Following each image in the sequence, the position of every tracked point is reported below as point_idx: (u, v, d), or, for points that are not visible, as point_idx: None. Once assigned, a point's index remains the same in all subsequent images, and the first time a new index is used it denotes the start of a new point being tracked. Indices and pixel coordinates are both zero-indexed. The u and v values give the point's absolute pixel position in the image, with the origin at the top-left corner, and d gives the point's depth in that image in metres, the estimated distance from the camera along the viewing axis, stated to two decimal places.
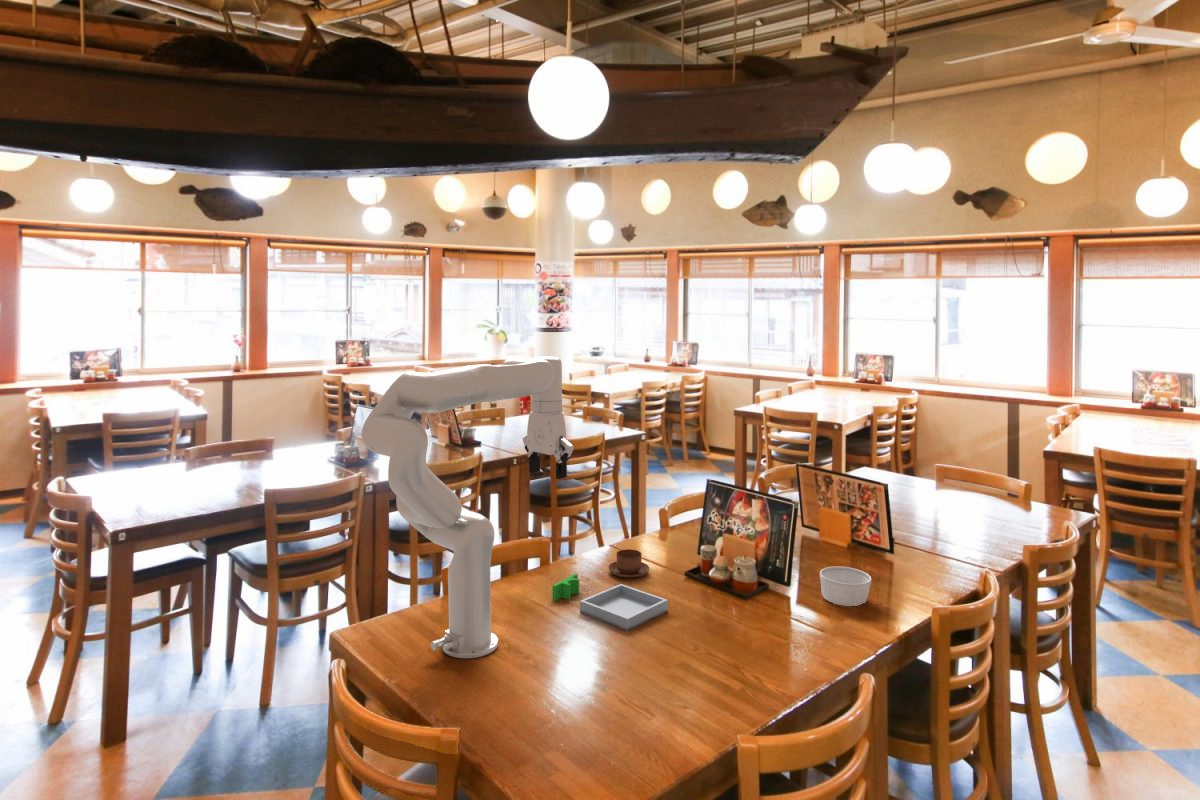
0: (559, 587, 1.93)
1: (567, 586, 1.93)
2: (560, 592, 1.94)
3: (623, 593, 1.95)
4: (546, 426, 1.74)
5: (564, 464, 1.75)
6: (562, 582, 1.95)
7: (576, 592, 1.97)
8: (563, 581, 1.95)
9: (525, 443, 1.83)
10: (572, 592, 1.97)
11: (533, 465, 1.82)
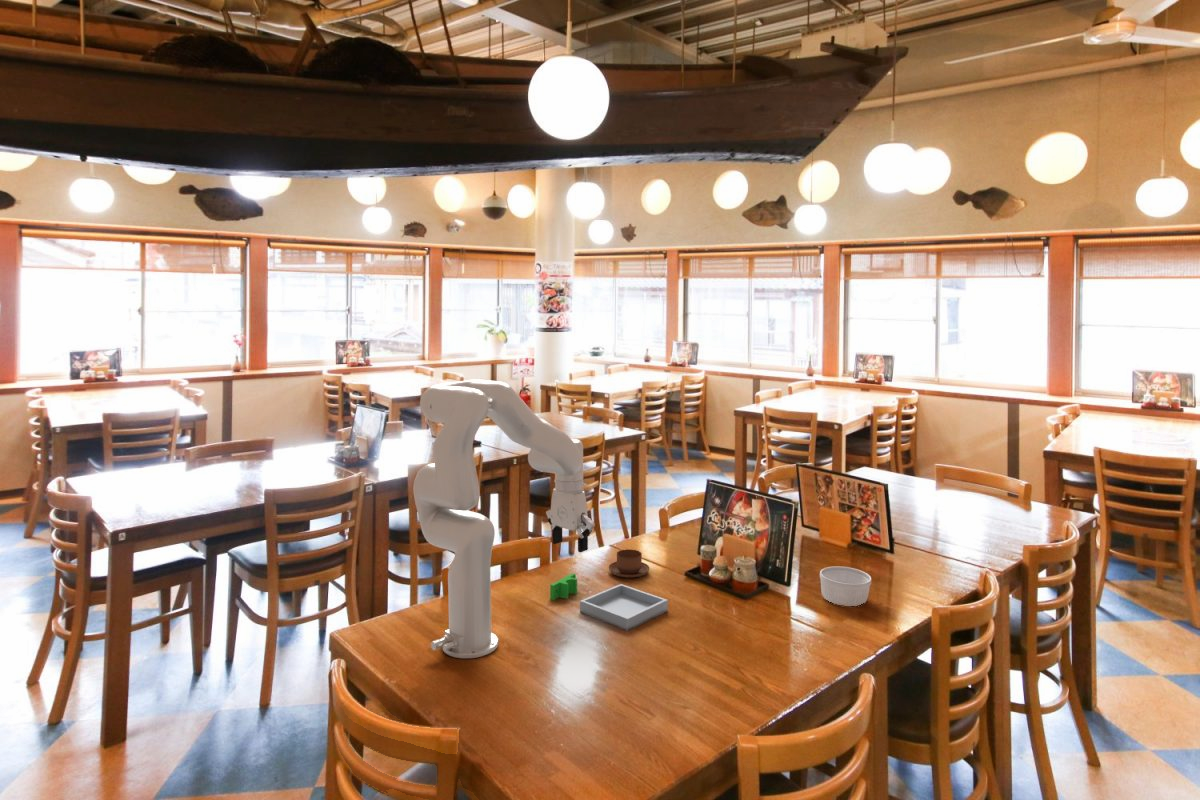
0: (556, 586, 1.94)
1: (565, 585, 1.94)
2: (558, 591, 1.94)
3: (623, 593, 1.95)
4: (569, 504, 1.89)
5: (585, 538, 1.91)
6: (560, 581, 1.95)
7: (574, 592, 1.97)
8: (561, 581, 1.96)
9: (548, 516, 1.99)
10: (570, 592, 1.97)
11: (556, 537, 1.97)
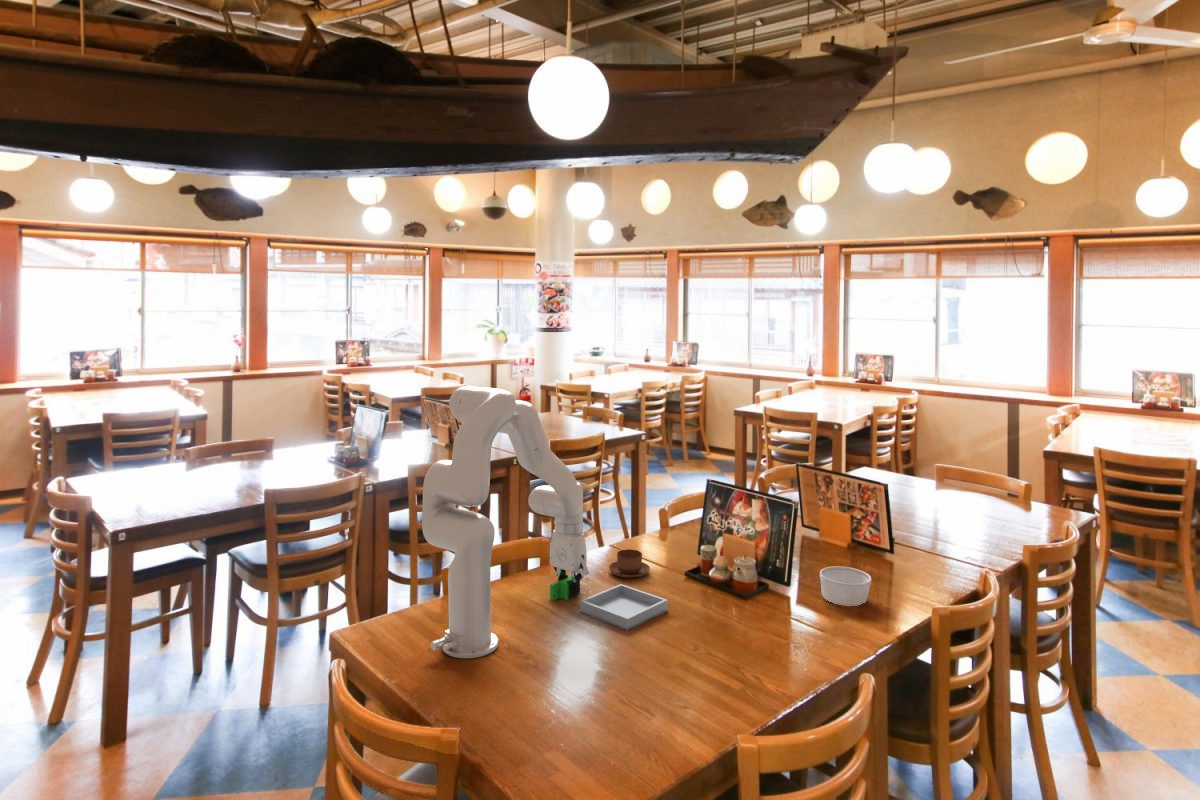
0: (556, 586, 1.93)
1: (565, 586, 1.93)
2: (558, 592, 1.94)
3: (623, 593, 1.95)
4: (568, 546, 1.91)
5: (578, 582, 1.94)
6: (560, 582, 1.95)
7: None
8: (562, 581, 1.95)
9: None
10: None
11: None
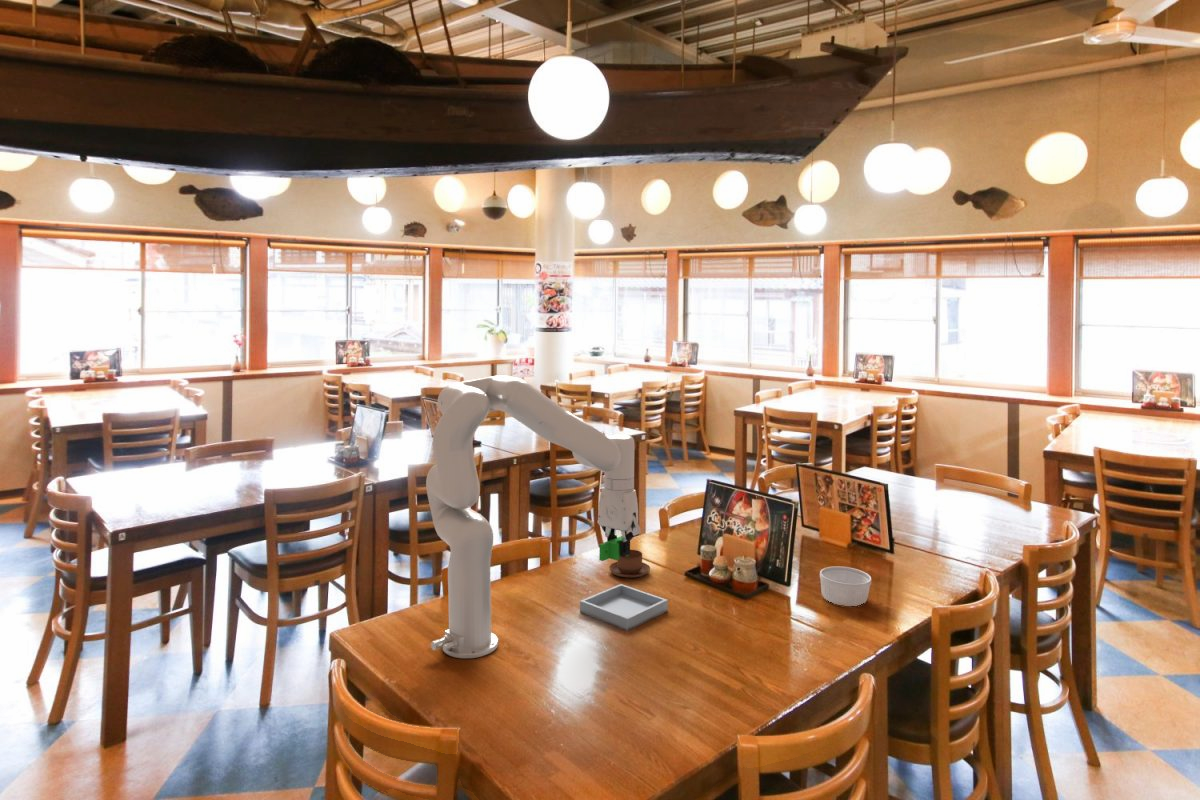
0: (606, 546, 1.82)
1: (615, 546, 1.82)
2: (608, 552, 1.83)
3: (623, 593, 1.95)
4: (620, 503, 1.79)
5: (628, 542, 1.82)
6: (610, 542, 1.83)
7: None
8: (611, 541, 1.84)
9: (601, 524, 1.87)
10: None
11: None
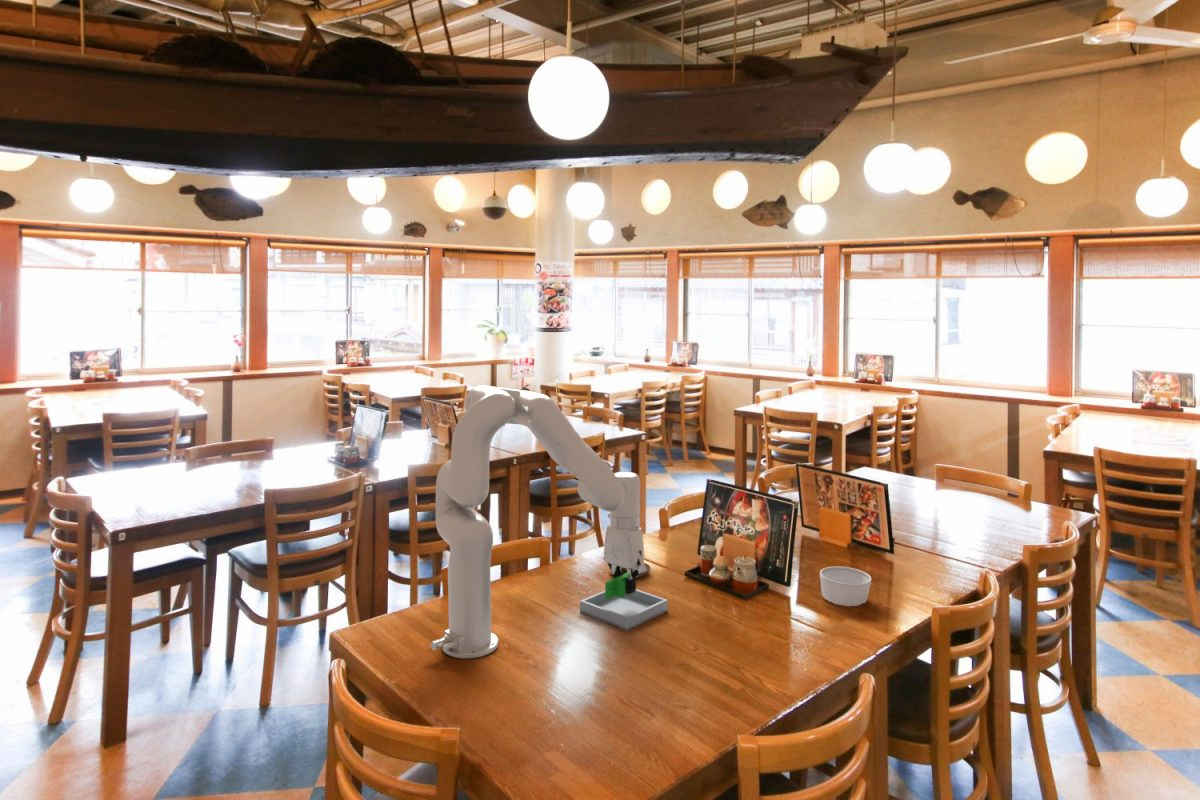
0: (612, 584, 1.82)
1: (621, 583, 1.82)
2: (614, 589, 1.83)
3: None
4: (625, 541, 1.79)
5: (634, 580, 1.82)
6: (616, 579, 1.83)
7: None
8: (617, 578, 1.84)
9: None
10: None
11: None
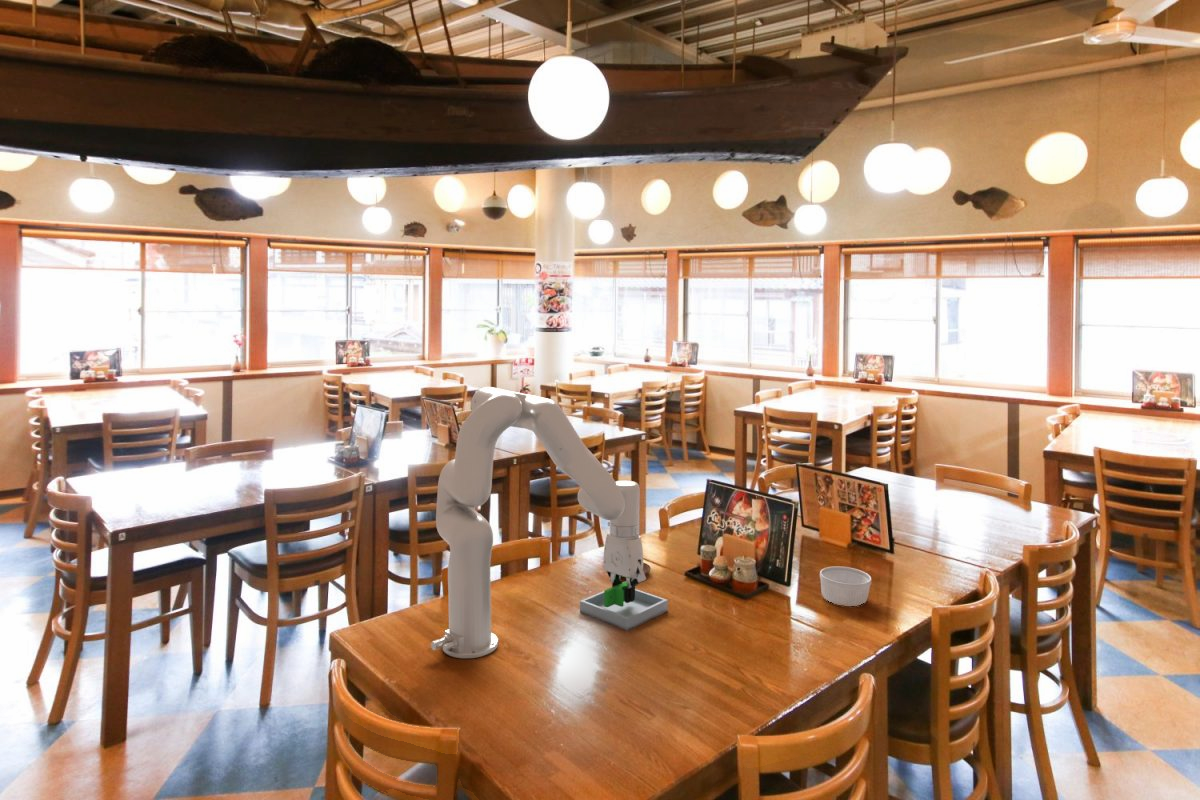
0: (611, 592, 1.82)
1: (620, 592, 1.82)
2: (613, 598, 1.83)
3: None
4: (625, 550, 1.80)
5: (633, 588, 1.83)
6: (615, 588, 1.83)
7: None
8: (616, 587, 1.84)
9: None
10: None
11: None
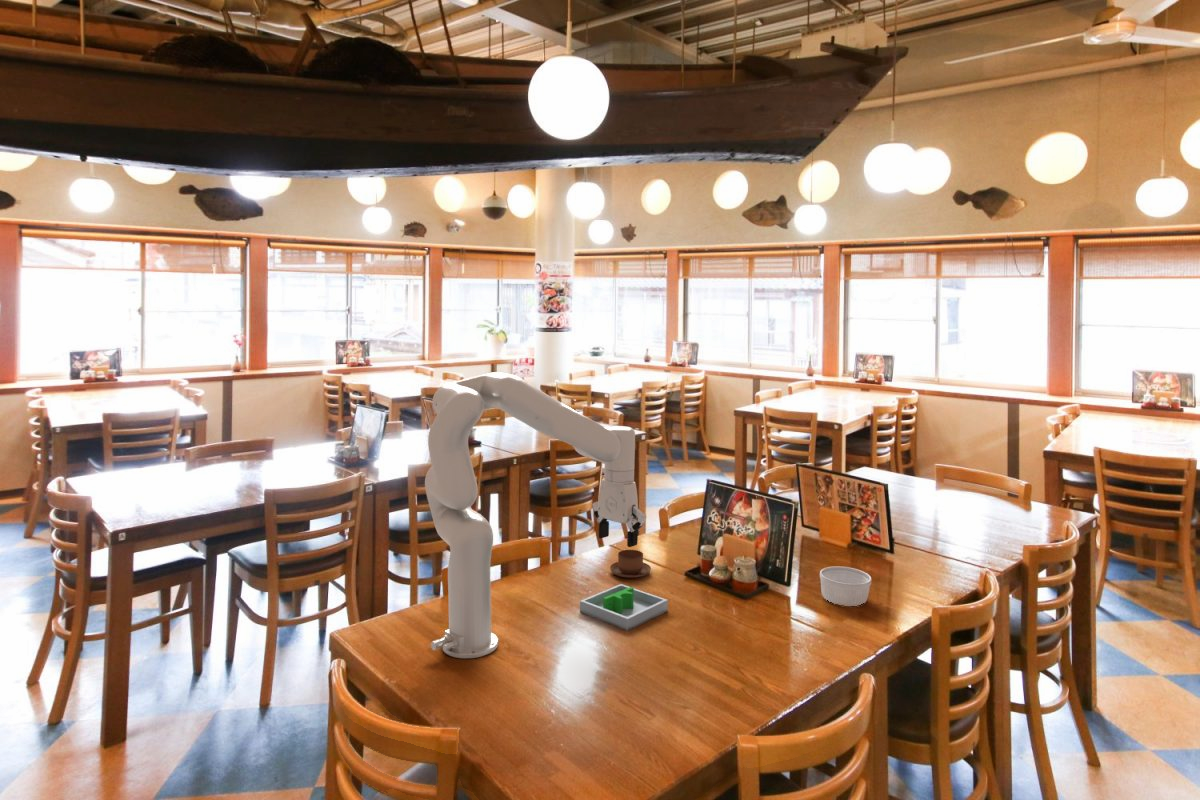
0: (610, 600, 1.83)
1: (619, 600, 1.82)
2: (612, 605, 1.83)
3: None
4: (619, 495, 1.78)
5: (635, 532, 1.79)
6: (614, 595, 1.84)
7: (630, 607, 1.85)
8: (616, 594, 1.84)
9: (595, 509, 1.87)
10: (626, 606, 1.86)
11: (603, 531, 1.85)
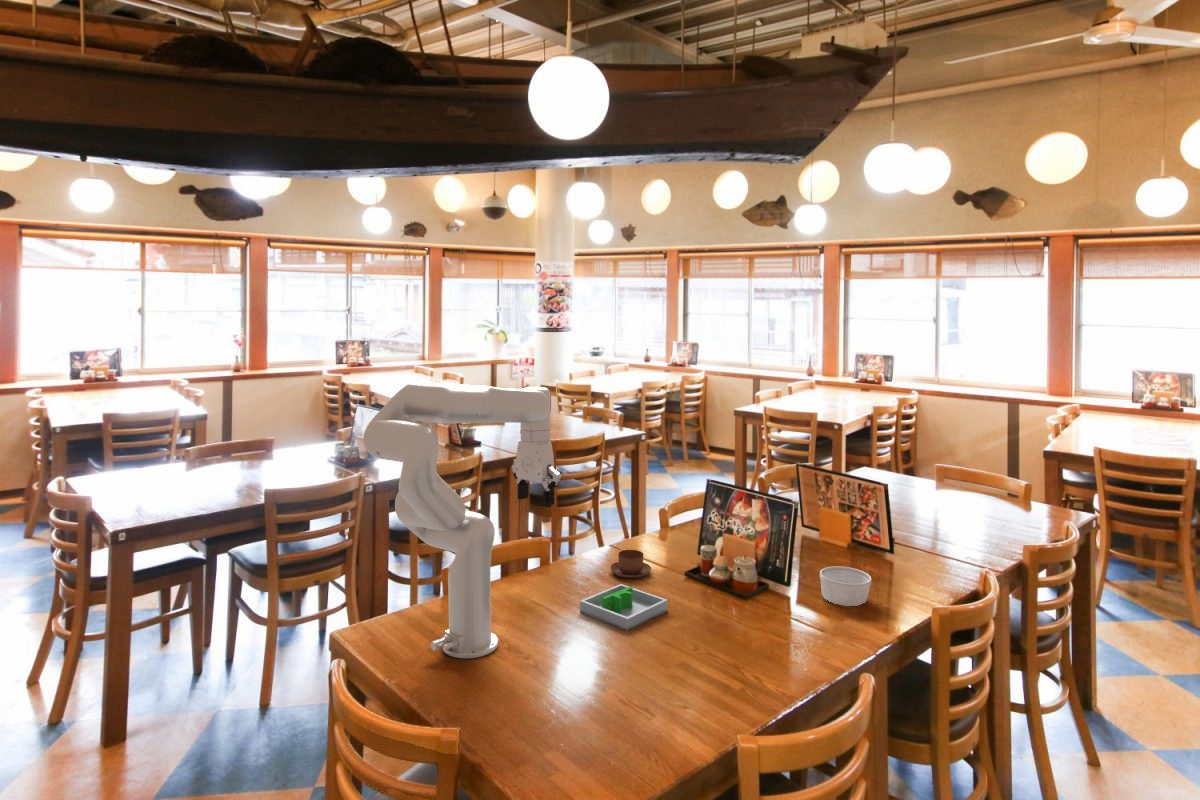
0: (609, 599, 1.83)
1: (618, 599, 1.82)
2: (611, 605, 1.84)
3: None
4: (534, 455, 1.79)
5: (551, 492, 1.80)
6: (613, 595, 1.84)
7: (629, 606, 1.86)
8: (615, 594, 1.85)
9: (514, 470, 1.88)
10: (625, 606, 1.86)
11: (521, 492, 1.86)
